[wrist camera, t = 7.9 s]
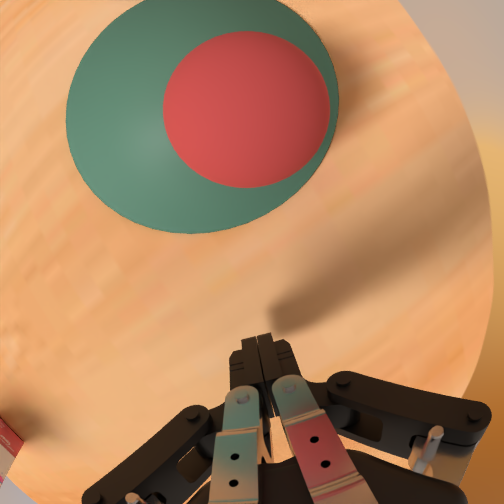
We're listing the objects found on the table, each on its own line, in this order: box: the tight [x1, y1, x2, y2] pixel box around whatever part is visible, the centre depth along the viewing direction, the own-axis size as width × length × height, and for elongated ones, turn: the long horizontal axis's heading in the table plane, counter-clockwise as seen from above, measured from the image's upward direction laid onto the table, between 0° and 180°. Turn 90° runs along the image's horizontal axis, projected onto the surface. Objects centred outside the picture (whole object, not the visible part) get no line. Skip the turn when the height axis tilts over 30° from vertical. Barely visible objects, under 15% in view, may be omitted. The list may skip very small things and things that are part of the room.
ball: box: [163, 31, 330, 188], centre depth 9 cm, size 6×6×6 cm
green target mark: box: [66, 0, 339, 234], centre depth 12 cm, size 14×14×1 cm
